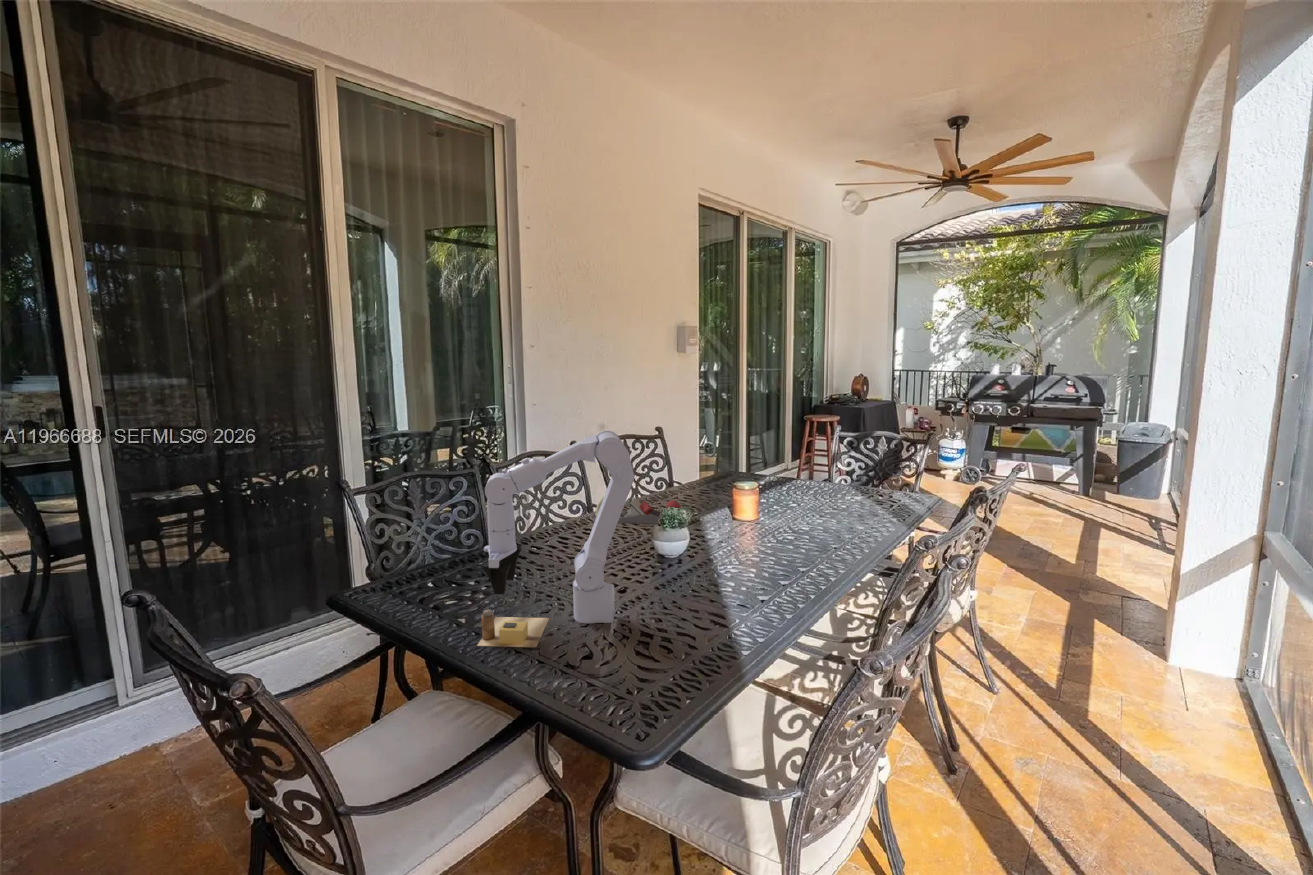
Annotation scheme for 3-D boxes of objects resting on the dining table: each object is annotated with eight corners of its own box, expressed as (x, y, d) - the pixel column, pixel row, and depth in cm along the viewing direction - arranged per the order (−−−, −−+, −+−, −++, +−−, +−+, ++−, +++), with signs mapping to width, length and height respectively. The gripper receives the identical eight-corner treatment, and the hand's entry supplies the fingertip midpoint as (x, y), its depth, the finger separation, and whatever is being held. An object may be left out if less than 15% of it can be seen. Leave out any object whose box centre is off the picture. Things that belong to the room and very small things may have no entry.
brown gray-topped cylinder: (496, 634, 133) (495, 608, 132) (493, 640, 130) (491, 614, 129) (484, 634, 133) (483, 608, 132) (480, 640, 130) (479, 614, 129)
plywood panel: (549, 622, 141) (549, 618, 140) (536, 652, 128) (536, 647, 128) (495, 621, 141) (495, 616, 141) (477, 651, 128) (476, 645, 128)
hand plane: (595, 516, 221) (594, 476, 218) (681, 519, 218) (681, 478, 215) (591, 522, 214) (590, 481, 211) (679, 525, 211) (680, 483, 208)
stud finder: (528, 634, 133) (527, 620, 132) (523, 644, 129) (522, 629, 128) (505, 634, 133) (504, 620, 132) (499, 643, 129) (499, 629, 128)
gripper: (493, 517, 142) (495, 573, 144) (472, 539, 127) (476, 600, 130) (523, 517, 141) (525, 573, 144) (506, 539, 127) (509, 600, 130)
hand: (504, 586), depth 137 cm, fingers open, 7 cm apart
